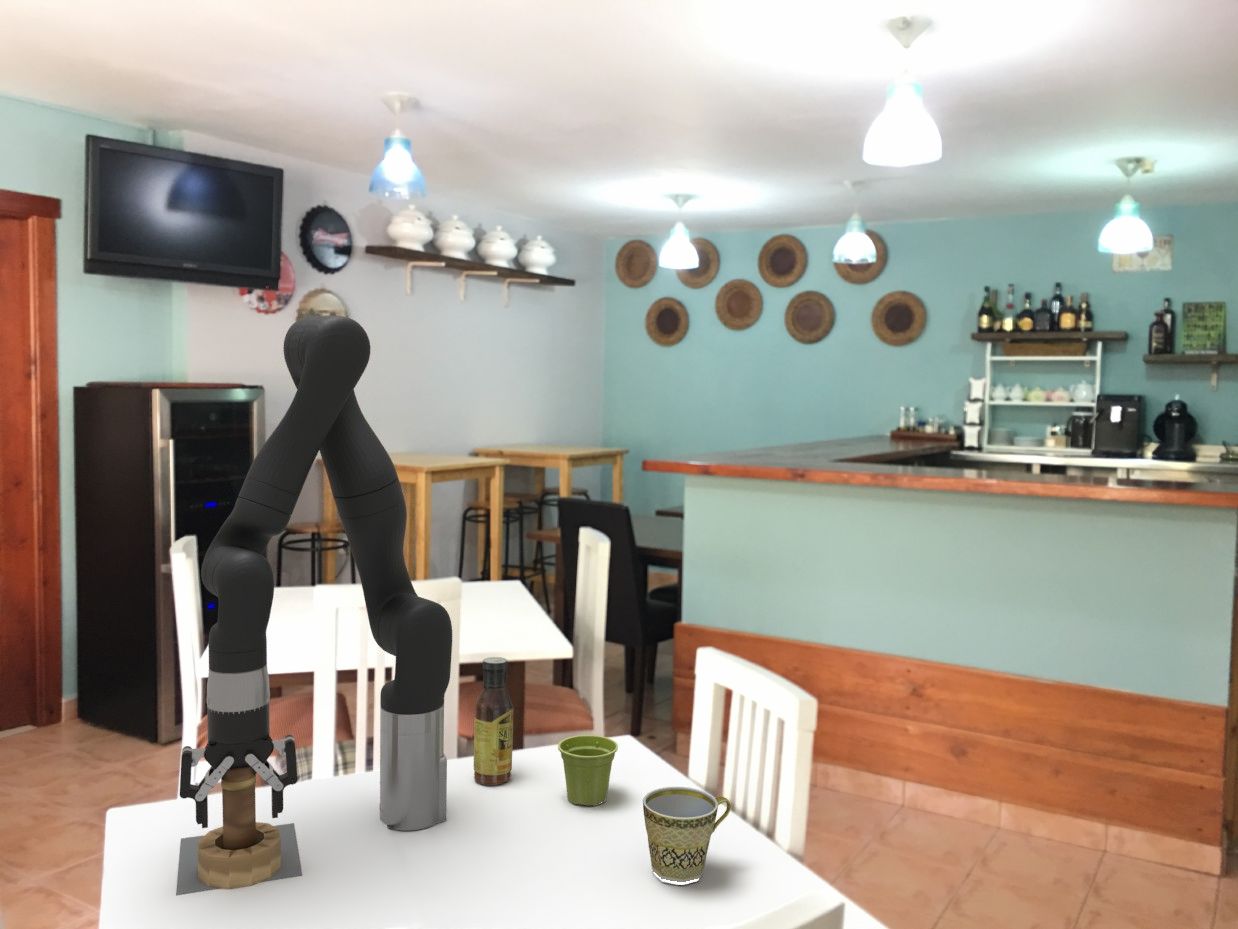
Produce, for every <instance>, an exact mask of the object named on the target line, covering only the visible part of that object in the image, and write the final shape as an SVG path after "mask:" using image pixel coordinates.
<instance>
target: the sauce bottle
mask: <svg viewBox="0 0 1238 929" xmlns="http://www.w3.org/2000/svg"><path fill="white" fill-rule="evenodd" d="M508 662H509V661H508V659H507V658H505V657H501V656H500V657H499V656H492V657H485V658H483V659H482V669H483V681H482V686H483V687H482V689H481V690H480V692H479V693H478V695H477V698H476V701H475V715H474V727H473V730H474V733H473V734H474V735H473V736H474V737H473V738H474V739H473V770H474V774H473V775H474V776H473V777H474V780H475V781H476V782H477V783H478V784H480V785H481V784H482V785H487V786H494V785H501V784H504V783H507V782H509V781H510V779H511V774H512V773H511V772H512V770H513V738H514V735H513V734H514V705H513V703H512V699H511V696H510V693H509V690H508V686H507V685H508V684H507V669H508V668H509V665H508Z"/></svg>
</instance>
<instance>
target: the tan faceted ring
mask: <svg viewBox="0 0 1238 929" xmlns="http://www.w3.org/2000/svg"><path fill="white" fill-rule="evenodd" d="M274 826H275V825H272V824H271V823H269V822H258V821H256V845H255V846H252V847H249V848H247V849H240V850H224V849H223V826H220V827H218V828H217V827H216V828H215V829H213V830H210V831H208V832H207V833H205V834H204V836H203V835H202V836H203V837H202V838H201V839H200V840H198V880H200V881H201V882H203V883H204V884H206V885H208V886H209V887H217V888H221V889H228V890H231V889H236V888H243V887H244V888H245V887H249V886H253V885H256V884H257V883H258V882H259V883H262V882H261V881H263V880H265V879H268V878H270V877H271V876H272V875H273V874H274V873H275V872H276V871H277V870H278V869H279V868H280V867H281V837H280V829H278V828H276V827H274Z"/></svg>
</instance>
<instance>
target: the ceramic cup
mask: <svg viewBox="0 0 1238 929" xmlns="http://www.w3.org/2000/svg"><path fill="white" fill-rule="evenodd" d="M723 803H726V809H725V811H724V812H723V813H722V815H721V816H720V817H719V818H718V819H717V814H718V808H719V806H720V805H721V804H723ZM642 808H643V816H644V826H645V830H646V834H647V843H648V850H649V857H650V864H651V870H653V871H652V873H653V872H655V873H656V874H657V875H658V876H659V877H661V879H666V880H670V881H677V882H686V881H690V880H694V879H698V878H700V877H701V878H702V876H701V875H703V874H702V873H704V871H705V865H706V859H707V854H708V852H709V851H708V850H709V847H710V846H709V845H710V842H711V838H712V834H713V833H714V832H715V831H716V829H717V828H718V827H719V825H720V824H721V823H722V822H723V821H724V820H725V819H726V818H727V817H728V816H729V814H730V812H731V803H730V800H729V799H728V798H726V797H725V796H724V797H723V796H718V797H714V796H713V795H712V794H710V793H708V792H706V791H704V790H700V789H697V788H695V787H694V788H693V787H684V786H666V787H665V786H664V787H660V788H655V789H653V790H651V791H649V792H647V793H646V795H645V796H644V797H643V799H642ZM703 870H704V871H703ZM701 878H700V879H701Z"/></svg>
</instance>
